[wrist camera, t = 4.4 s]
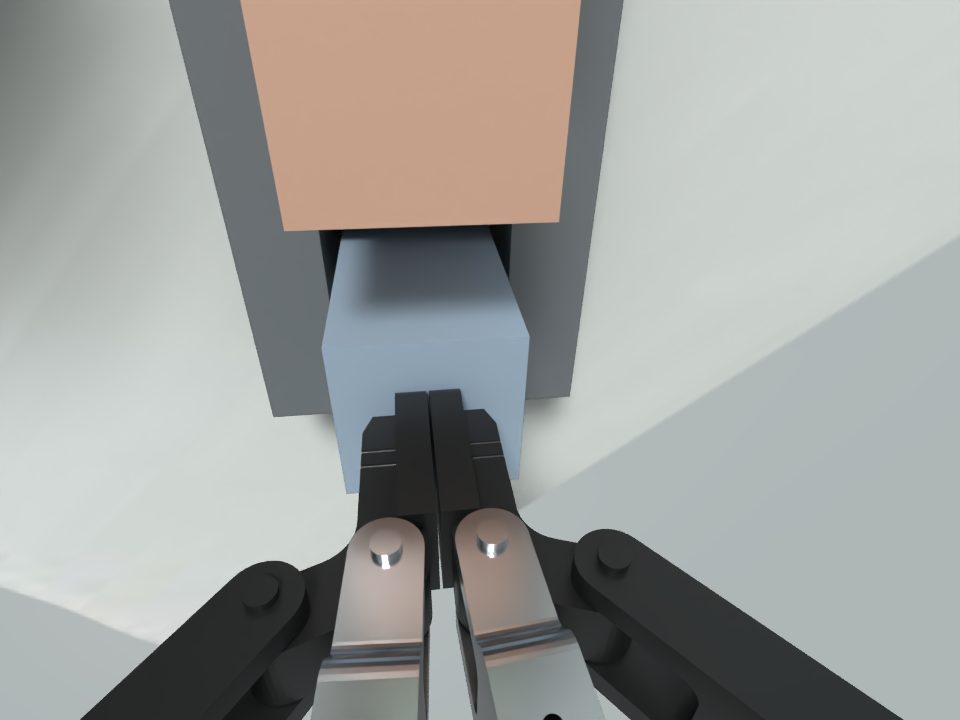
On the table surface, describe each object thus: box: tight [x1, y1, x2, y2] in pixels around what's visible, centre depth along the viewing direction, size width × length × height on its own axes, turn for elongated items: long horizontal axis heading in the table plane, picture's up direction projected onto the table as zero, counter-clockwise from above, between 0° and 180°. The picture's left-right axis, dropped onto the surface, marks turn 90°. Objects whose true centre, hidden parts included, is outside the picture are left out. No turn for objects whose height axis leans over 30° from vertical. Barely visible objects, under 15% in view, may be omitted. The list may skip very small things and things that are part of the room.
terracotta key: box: [240, 0, 581, 231], centre depth 11 cm, size 4×4×7 cm
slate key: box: [321, 225, 530, 494], centre depth 16 cm, size 4×4×7 cm
